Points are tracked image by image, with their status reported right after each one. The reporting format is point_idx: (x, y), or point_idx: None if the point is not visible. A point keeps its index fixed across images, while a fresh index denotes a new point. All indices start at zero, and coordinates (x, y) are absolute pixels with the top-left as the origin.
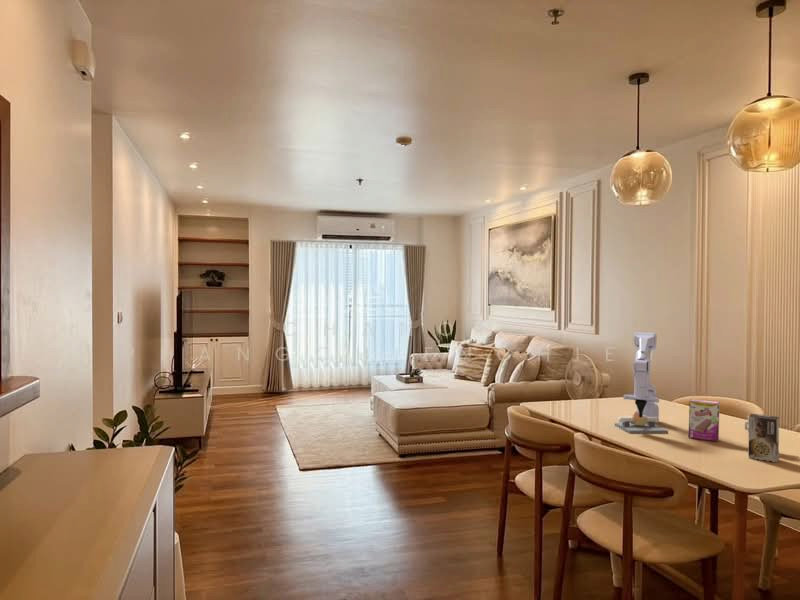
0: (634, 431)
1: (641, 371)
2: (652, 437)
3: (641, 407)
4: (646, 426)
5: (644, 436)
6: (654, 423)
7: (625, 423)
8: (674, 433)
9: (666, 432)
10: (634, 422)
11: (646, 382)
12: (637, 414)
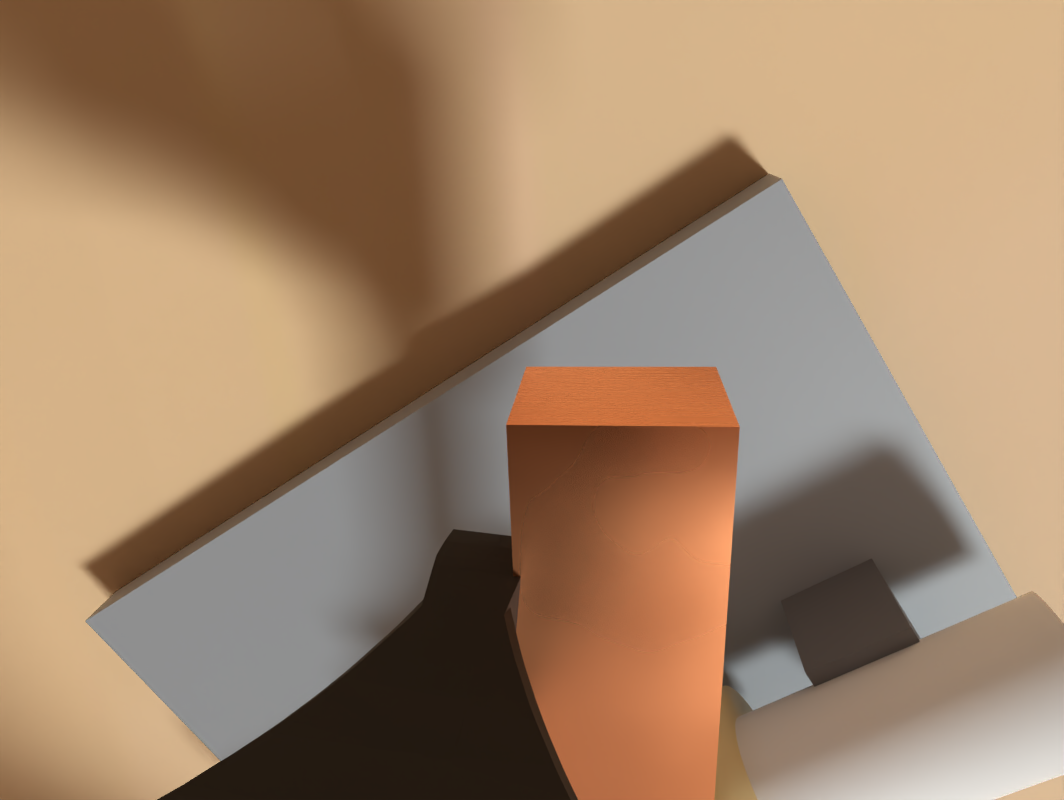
0: (654, 254)
1: None
2: (253, 63)
3: (308, 783)
4: None
5: (417, 54)
6: None
7: (893, 602)
8: (37, 626)
9: (129, 585)
10: None
11: None
12: (582, 506)
